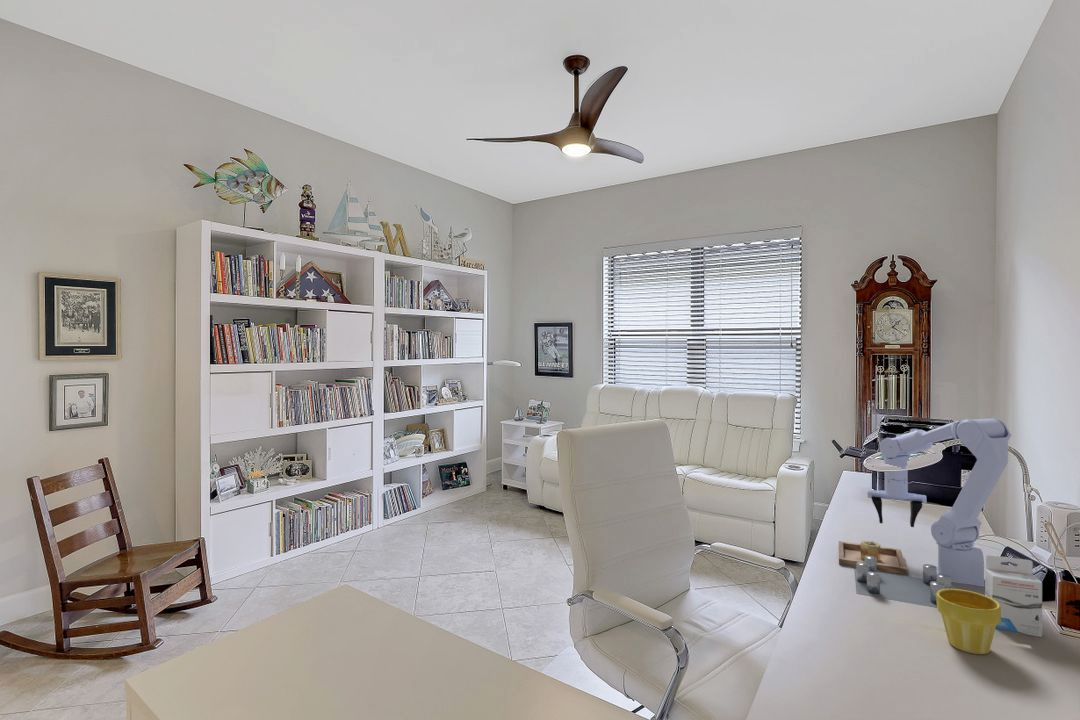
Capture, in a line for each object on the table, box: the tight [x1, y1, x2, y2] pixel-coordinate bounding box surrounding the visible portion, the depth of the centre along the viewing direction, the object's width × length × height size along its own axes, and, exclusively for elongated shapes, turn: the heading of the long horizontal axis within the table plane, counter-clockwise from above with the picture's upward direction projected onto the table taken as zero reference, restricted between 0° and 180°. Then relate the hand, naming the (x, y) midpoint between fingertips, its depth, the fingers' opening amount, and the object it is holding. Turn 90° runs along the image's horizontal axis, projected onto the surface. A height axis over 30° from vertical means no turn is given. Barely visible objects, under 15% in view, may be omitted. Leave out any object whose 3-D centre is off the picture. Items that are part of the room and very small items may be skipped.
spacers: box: [855, 556, 952, 605], centre depth 137 cm, size 20×15×4 cm
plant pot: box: [936, 588, 1001, 655], centre depth 111 cm, size 10×10×10 cm
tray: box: [838, 540, 908, 576], centre depth 156 cm, size 16×16×2 cm
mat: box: [853, 567, 937, 609], centre depth 137 cm, size 21×18×1 cm
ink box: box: [984, 554, 1043, 638], centre depth 117 cm, size 9×5×15 cm, turn 65°
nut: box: [860, 540, 881, 562], centre depth 156 cm, size 4×5×5 cm
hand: (896, 524), depth 159 cm, fingers open, 7 cm apart
